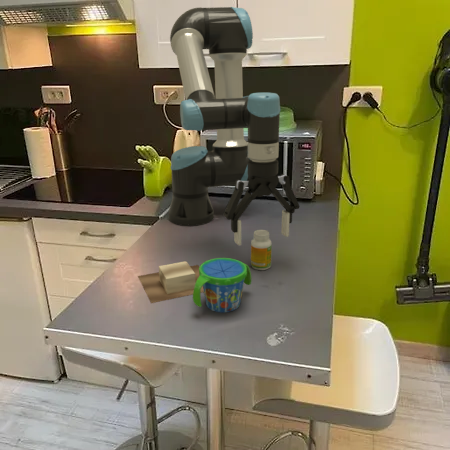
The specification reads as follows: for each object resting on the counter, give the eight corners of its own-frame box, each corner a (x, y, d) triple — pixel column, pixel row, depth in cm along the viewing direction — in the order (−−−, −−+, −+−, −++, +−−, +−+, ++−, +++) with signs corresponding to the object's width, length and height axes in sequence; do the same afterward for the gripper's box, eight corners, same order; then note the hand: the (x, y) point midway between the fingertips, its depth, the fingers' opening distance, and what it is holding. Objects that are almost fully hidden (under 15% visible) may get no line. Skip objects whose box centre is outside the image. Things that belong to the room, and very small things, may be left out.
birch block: (159, 280, 120) (158, 266, 118) (186, 275, 122) (186, 261, 120) (167, 294, 114) (166, 278, 112) (195, 288, 116) (195, 273, 114)
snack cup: (237, 288, 118) (237, 250, 114) (264, 306, 110) (265, 266, 106) (182, 308, 110) (179, 268, 106) (207, 330, 102) (206, 287, 98)
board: (138, 280, 122) (137, 276, 122) (198, 268, 128) (197, 264, 127) (151, 307, 110) (151, 303, 110) (216, 293, 116) (216, 289, 115)
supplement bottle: (269, 271, 126) (270, 237, 122) (249, 269, 127) (249, 235, 123) (272, 262, 131) (273, 229, 127) (252, 260, 132) (252, 227, 128)
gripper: (220, 167, 110) (222, 252, 118) (315, 156, 119) (311, 236, 127) (209, 160, 117) (211, 241, 125) (299, 150, 125) (296, 227, 133)
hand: (261, 239), depth 126 cm, fingers open, 13 cm apart
